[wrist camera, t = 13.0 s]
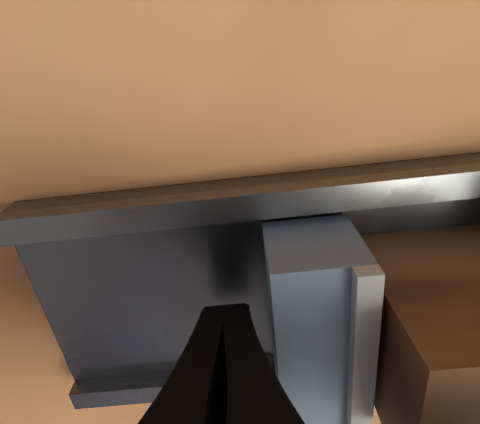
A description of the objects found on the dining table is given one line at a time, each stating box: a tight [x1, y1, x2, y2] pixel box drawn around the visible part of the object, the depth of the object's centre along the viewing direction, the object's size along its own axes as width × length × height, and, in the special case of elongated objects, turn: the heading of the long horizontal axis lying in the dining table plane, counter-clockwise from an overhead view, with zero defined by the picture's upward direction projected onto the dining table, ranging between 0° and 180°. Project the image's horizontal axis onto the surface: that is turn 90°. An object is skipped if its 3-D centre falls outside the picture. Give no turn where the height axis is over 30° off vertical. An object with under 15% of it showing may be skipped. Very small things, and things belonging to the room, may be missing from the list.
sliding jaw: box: [262, 214, 385, 424], centre depth 11 cm, size 6×2×3 cm, turn 6°
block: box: [360, 224, 480, 424], centre depth 10 cm, size 4×4×5 cm
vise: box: [0, 153, 480, 409], centre depth 11 cm, size 8×17×3 cm, turn 96°
